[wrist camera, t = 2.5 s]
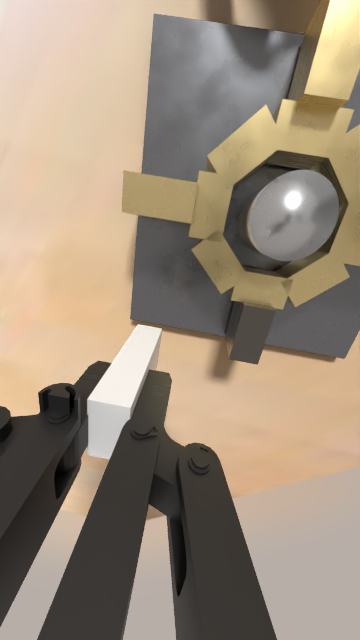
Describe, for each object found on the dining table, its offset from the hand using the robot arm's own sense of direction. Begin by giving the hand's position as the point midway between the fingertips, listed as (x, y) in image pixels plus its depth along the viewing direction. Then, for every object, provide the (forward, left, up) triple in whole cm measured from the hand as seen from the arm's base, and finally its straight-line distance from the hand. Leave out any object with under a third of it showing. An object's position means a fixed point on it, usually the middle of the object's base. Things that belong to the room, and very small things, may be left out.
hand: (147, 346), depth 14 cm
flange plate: (-7, -9, -10) cm, 15 cm away
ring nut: (-7, -9, -8) cm, 14 cm away
